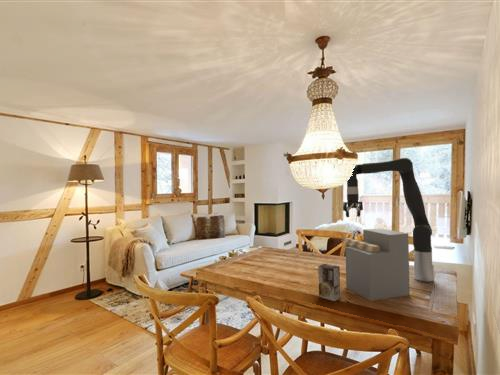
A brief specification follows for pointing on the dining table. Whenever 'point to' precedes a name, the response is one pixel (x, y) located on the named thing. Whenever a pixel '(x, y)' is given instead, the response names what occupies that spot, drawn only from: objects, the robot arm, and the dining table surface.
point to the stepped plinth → (379, 265)
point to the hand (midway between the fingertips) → (353, 216)
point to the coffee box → (329, 282)
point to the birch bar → (361, 245)
